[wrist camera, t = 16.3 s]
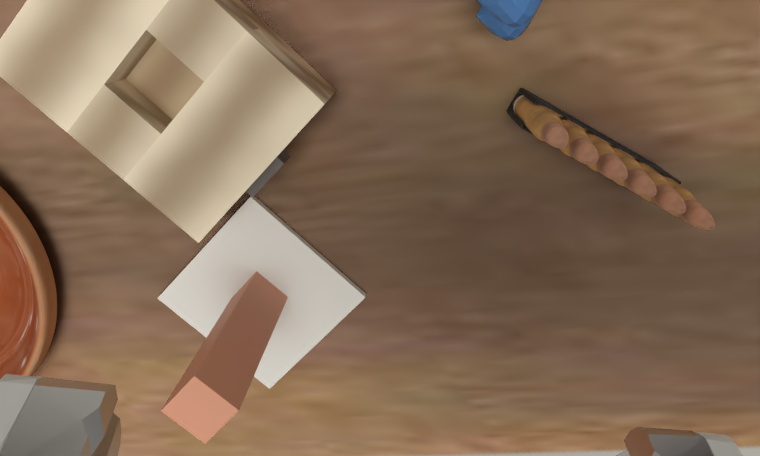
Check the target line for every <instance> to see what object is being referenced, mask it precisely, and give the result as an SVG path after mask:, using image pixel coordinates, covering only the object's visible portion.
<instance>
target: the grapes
mask: <svg viewBox="0 0 760 456" xmlns="http://www.w3.org/2000/svg"><path fill="white" fill-rule="evenodd" d="M477 1H478V2H479V3H480V4H481V5H482V6H481V8H480V9H479V11H478V13H477V15H476V17H477V18H478V19H479V20H480V21H481V22H482V23H483V24H484V25H485V26H486V27H487V28H488V29H489V30H490V31H491V32H492V33H493V34H495V35H497V36H498V37H500V38H502V39H505V40H513V39H516V38H517V37H518V36H520V35H521V34H522V33H523V32H524V30H525V29H526V28H527V27H528V25H529V24H530V22H531V20H532V18H533V16H534V14H535V13H536V11H537V9H538V7H539V5H540V4H541V2H542V0H477Z"/></svg>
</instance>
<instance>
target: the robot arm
mask: <svg viewBox="0 0 760 456" xmlns="http://www.w3.org/2000/svg"><path fill="white" fill-rule="evenodd" d="M117 400H118V398H117V392H116V386H115V385H109V384H100V383H91V382H82V381H73V380H64V379H54V378H45V377H35V376H24V375H13V374H5V375H4V376H3V377H2V378H1V379H0V456H118V452H119V447H120V439H121V424H120V418H119V417H117V416H116V415H115V414H114V413H113V411H114V408H115V406H116V403H117ZM624 442H625V444H626V447H627V450H626V451H624V452H622V453H620V454H618V455H617V456H742V454H741V452H740V450H739V449H738V447H737V445H736V443H735V442H734V441H733V440H732V439H731V438H730V437H729V436H728V435H726V434H716V433H703V432H693V431H687V430H672V429H657V428H643V427H637V428H635V429H633V430H631V431H630V432H629V434H628V435H627V437H626V438H625V440H624Z"/></svg>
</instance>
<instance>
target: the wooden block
mask: <svg viewBox="0 0 760 456" xmlns="http://www.w3.org/2000/svg"><path fill="white" fill-rule="evenodd" d="M287 298H288V297H287V296H286V295H285V294H284V293H282V292H281V291H280V290H279V289H278V288H276V287H275V286H274V285H273V284H272V283H270V282H269V281H268V280H267V279H266V278H264V277H263V276H262V275H261V274H259V273H258V272H257V271H256V272H255V273H254V274H253V276H252V277H251V278H250V279H249V280H248V281H247V282H246V283H245V284H244V285H243V286H242V287H241V288H240V289H239V291H238V292H237V293H236V294H235V295H234V296H233V297H232V298H231V300H230V301H229V303H228V304H227V306H226V308H225V309H224V311H223V312H222V314H221V316H220V317H219V319H218V320H217V322H216V324H215V325H214V327H213V328H212V330H211V332H210V333H209V335H208V336H207V338H206V340H205V341H204V343H203V344H202V346H201V348H200V349H199V351H198V352H197V354H196V356H195V357H194V359H193V360H192V362H191V364H190V365H189V367H188V368H187V370H186V372H185V373H184V375H183V376H182V378H181V380H180V381H179V383H178V384H177V386H176V388H175V389H174V391H173V392H172V394H171V396H170V397H169V399H168V400H167V402H166V404H165V405H164V407H163V408H162V410H161V411H162V412H163V413H164V414H166V415H167V416H168V417H170V418H171V419H172V420H174V421H175V422H176V423H178V424H179V425H180V426H182V427H183V428H185V429H186V430H187V431H189V432H190V433H191V434H193V435H194V436H195V437H197V438H198V439H199V440H201V441H202V442H203V443H206V442H207V441H208V440H209V439H210V438H211V437H212V436H213V435H214V434H215V433H216V432H217V431H218V430H220V429H221V428H222V427H223V426H224V425H225V424H226V423H227V422H228V421H229V420H230V419H231V418H232V417H233V416H234V415H235V414H236V413H237V412H238V411H239V409H240V407H241V404H242V402H243V400H244V397H245V395H246V393H247V391H248V388H249V386H250V384H251V381H252V379H253V377H254V374H255V372H256V370H257V368H258V365H259V363H260V361H261V358H262V356H263V354H264V351H265V349H266V347H267V345H268V342H269V340H270V338H271V335H272V333H273V331H274V328H275V326H276V324H277V322H278V319H279V317H280V315H281V312H282V310H283V308H284V305H285V303H286V301H287Z"/></svg>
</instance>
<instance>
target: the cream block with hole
mask: <svg viewBox="0 0 760 456" xmlns="http://www.w3.org/2000/svg"><path fill="white" fill-rule="evenodd" d="M0 77H2V78H3V79H4V80H5V81H6V82H8V83H9V84H10V85H11V86H12V87H14V88H15V89H16V90H17V91H18V92H20V93H21V94H22V95H23V96H24V97H25V98H27V99H28V100H29V101H30V102H31V103H33V104H34V105H35V106H36V107H37V108H39V109H40V110H41V111H42V112H43V113H45V114H46V115H47V116H48V117H49V118H50V119H52V120H53V121H54V122H55V123H56V124H58V125H59V126H60V127H61V128H62V129H64V130H65V131H66V132H67V133H68V134H69V135H71V136H72V137H73V138H74V139H75V140H77V141H78V142H79V143H80V144H81V145H83V146H84V147H85V148H86V149H87V150H89V151H90V152H91V153H92V154H93V155H94V156H96V157H97V158H98V159H99V160H100V161H102V162H103V163H104V164H105V165H106V166H108V167H109V168H110V169H111V170H112V171H114V172H115V173H116V174H117V175H118V176H119V177H121V178H122V179H123V180H124V181H125V182H127V183H128V184H129V185H130V186H131V187H133V188H134V189H135V190H136V191H137V192H139V193H140V194H141V195H142V196H143V197H144V198H146V199H147V200H148V201H149V202H150V203H152V204H153V205H154V206H155V207H156V208H158V209H159V210H160V211H161V212H162V213H163V214H165V215H166V216H167V217H168V218H169V219H171V220H172V221H173V222H174V223H175V224H177V225H178V226H179V227H180V228H181V229H183V230H184V231H185V232H186V233H187V234H188V235H190V236H191V237H192V238H193V239H194V240H196V241H197V242H198V243H199V242H200V241H201V240H202V239H203V238H204V236H205V235H206V234H207V233H208V232H209V231H210V230H211V229H212V228H213V227H214V225H215V224H216V223H217V222H218V221H219V220H220V219H221V218H222V217H223V216H224V214H225V213H226V212H227V211H228V210H229V209H230V208H231V207H232V206H233V205H234V203H235V202H236V201H237V200H238V199H239V198H240V197H241V196H242V195H243V193H244V192H245V191H246V192H247V193H248V194H249V195H250V196H251V197H254V196H255V195H256V194H257V193H258V192H259V191H260V190H261V188H262V187H263V186H264V185H265V184H266V183H267V182H268V181H269V180H270V179H271V178H272V176H273V175H274V174H275V173H276V172H277V171H278V170H279V169H280V168H281V167H282V166H283V164H284V163H285V162H286V161H287V160H288V158H289V157H290V156H289V155H288V154H287V153H286V152H285V151H284V150H283V149H284V148H285V147H286V146H287V145H288V144H289V143H290V142H291V141H292V140H293V138H294V137H295V136H296V135H297V134H298V133H299V132H300V131H301V130H302V129H303V127H304V126H305V125H306V124H307V123H308V122H309V121H310V120H311V119H312V118H313V116H314V115H315V114H316V113H317V112H318V111H319V110H320V109H321V108H322V107H323V105H324V104H325V103H326V102H327V101H328V100H329V99H330V98H331V97H332V95H333V94H334V93H335V92H336V91H337V90H336V89H335V88H333V87H332V86H331V85H330V84H329V83H328V82H327V81H326V80H325V79H324V78H323V77H322V76H321V75H320V74H319V73H318V72H317V71H316V70H314V69H313V68H312V67H311V66H310V65H309V64H308V63H307V62H306V61H305V60H304V59H303V58H302V57H301V56H300V55H299V54H298V53H297V52H295V51H294V50H293V49H292V48H291V47H290V46H289V45H288V44H287V43H286V42H285V41H284V40H283V39H282V38H281V37H280V36H279V35H277V34H276V33H275V32H274V31H273V30H272V29H271V28H270V27H269V26H268V25H267V24H266V23H265V22H264V21H263V20H262V19H261V18H260V17H258V16H257V15H256V14H255V13H254V12H253V11H252V10H251V9H250V8H249V7H248V6H247V5H246V4H245V3H244V2H243V1H242V0H27V1H26V3H25V4H24V6H23V7H22V8H21V10H20V11H19V13H18V14H17V16H16V17H15V19H14V20H13V21H12V23H11V24H10V26H9V27H8V29H7V30H6V32H5V33H4V34H3V36H2V37H1V39H0Z"/></svg>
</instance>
